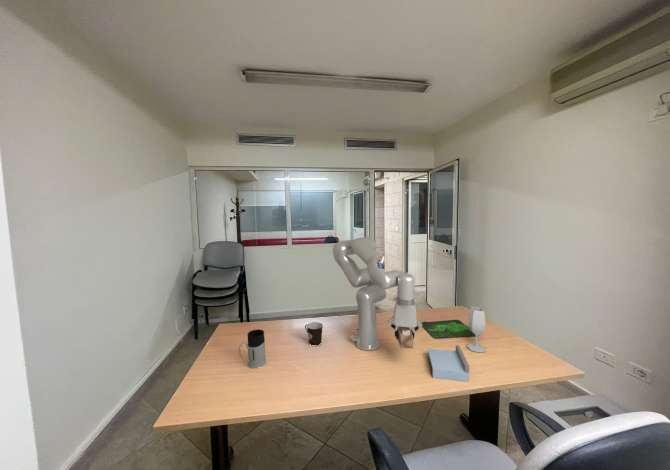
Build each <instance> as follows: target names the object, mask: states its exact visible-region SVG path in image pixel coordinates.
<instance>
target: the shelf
mask: <svg viewBox="0 0 670 470" xmlns="http://www.w3.org/2000/svg"><path fill="white" fill-rule="evenodd" d="M427 358H428V359H429V361H430V364H431V369H432V370H431V371H432V378H433V379H435V380H436V379H439V380H446V381H447V380H448V381H456V382H465V383H469V382H470V381H469V380H470V365H469V363H468V361H467V359H466V357H465V354H464V353H463V350H462V348H461V347H460V345H459V344H456V345H455V350H450V349H448V350H447V349H435V348H428V349H427Z"/></svg>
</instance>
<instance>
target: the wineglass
mask: <svg viewBox="0 0 670 470" xmlns="http://www.w3.org/2000/svg"><path fill="white" fill-rule="evenodd" d="M467 322H468V323H467V324H468V325H467V326H468V327H469V329H470V330H471V331H472V332H473V333H474V334H475V336H474V342H469V343H467V344H466V347H467V349H468V350H470V351H471V352H475V353H486V347H485V346H484V345H483V344H481V343H479V336H480V335H481V334H484V333H485V330H486V325H487V324H486V322H487V319H486V312H485V309H484V308H482V307H478V306H471V307H470V310H469V313H468V321H467Z"/></svg>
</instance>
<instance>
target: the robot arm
mask: <svg viewBox="0 0 670 470" xmlns="http://www.w3.org/2000/svg"><path fill="white" fill-rule="evenodd" d="M376 249H377V242H376V240H375V239H374V238H373V237H371V236H365V237H363V236H362V237H357V238H355V239H348V240H347V239H346V240H340V241H337V242H336V243H335V244H334V245H333V247H332V256H333V258H334V261H335V262H336V263H337V265H338V266H339V267H340V268H341V271H342V272H343V273H344V275H345V277H346V279H347V280H348V282H349V283H350V286H352V287H353V288H359V289H358V290H357V291H356V293H355V298H356V303H357V312H358V315H357V317H358V318H357V319H358V321H357V322H358V323H357V325H358V328H357V329H358V330H357V331H358V334H356V335H353V334H351V335H350V340H351V341H352V342H355V346H356V347H357V349H359V350H363V351H375V350H378V349H379V347H380V341H379V340H378V339H377V311H376V308H375V306H374V304H376V303H379V302H382V301H383V300H385V299H386V298H387V290H388V289H392V288H395V287H397V288H396V289H397V291H396V293H397V294H396V295H397V296H396V297H393V301H394V302H395V304H394V310H393V316H392V317H390V318H389V319H388V320H387V323H388V325H389V326H390V327H391V328H392V329H393V330H394V337H395V338H396V340H398V327H408V328H411V329H410V331H411V333H412V335H413V337H414V338H415V333H416V332H417V331H418V330H419V329H420V328H423V327H422V323H421V322H422V321H420V320H419V318H418V315H417V306H416V304H415V285H416V284H415V283H416V280H415V279H416V278H415V276H414V275H413V274H412V273H405V272H402V271H401V270H398V269H393V270H390V271H385V272H383V271H382V270H381V269H380V268H379V267H378V266H377V264H378V262H379V261H380V259H381V254H380V253H379V252H378V251H377V250H376ZM352 255H356V256H357V257H358V258H360V259H361V261H363V263H364V264H365V265H366V267H364V268H360V267H359V266H358V264H357V263H356V261H355V260H354V259H353V258H351V257H350V256H352Z"/></svg>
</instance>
